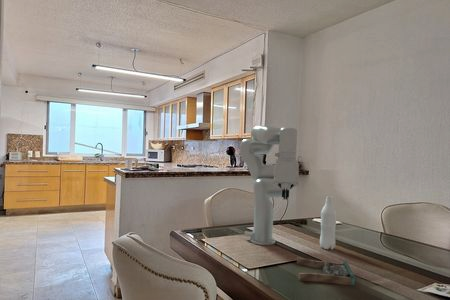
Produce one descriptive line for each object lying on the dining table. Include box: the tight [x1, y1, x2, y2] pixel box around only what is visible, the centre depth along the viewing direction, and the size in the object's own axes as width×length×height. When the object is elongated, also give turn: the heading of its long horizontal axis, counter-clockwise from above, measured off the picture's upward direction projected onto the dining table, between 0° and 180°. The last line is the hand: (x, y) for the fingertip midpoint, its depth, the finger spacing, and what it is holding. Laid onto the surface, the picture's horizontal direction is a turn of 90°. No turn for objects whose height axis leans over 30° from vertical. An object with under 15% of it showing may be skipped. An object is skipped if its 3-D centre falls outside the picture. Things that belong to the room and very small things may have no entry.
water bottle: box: [319, 195, 338, 251], centre depth 146 cm, size 7×7×25 cm
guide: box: [296, 256, 356, 287], centre depth 113 cm, size 19×17×4 cm
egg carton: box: [323, 260, 349, 277], centre depth 112 cm, size 11×8×4 cm
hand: (285, 199), depth 130 cm, fingers closed
